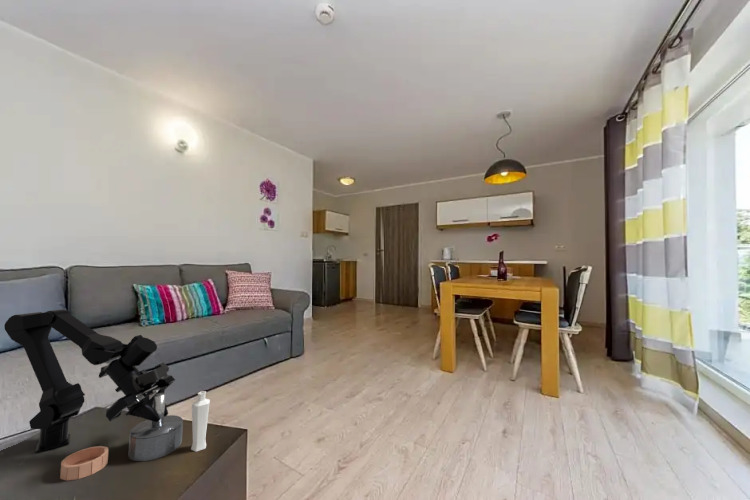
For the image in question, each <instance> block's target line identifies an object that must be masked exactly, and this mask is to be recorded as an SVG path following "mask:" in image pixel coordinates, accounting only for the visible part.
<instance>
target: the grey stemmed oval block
mask: <svg viewBox="0 0 750 500" xmlns="http://www.w3.org/2000/svg"><path fill="white" fill-rule="evenodd" d="M165 404H166V393H165V392H164V393H158V394H155V395H154V396H153V409H154V410H155V411H156V413H157V414H158V416H159V417H160V420H159V421H158V422H154V421H151V420H148V419H145V420H144V421H141V422H139V423H137V424H136V425H134V426H132V428H131V429H130V431H129V440H128V454H127V456H128V459H130V460H131V461H135V462H146V461H152V460H156V459H159V458H162V457H165V456H167V455H170V454H171V453H173V452H174V451H176V450H177V449H179V447H180V446H181V444H182V442H183V429H184V421H183V419H184V418H182V417H181V416H179V415H176V414H175V415H173V414H172V415H171V414H170V415H169V414H168V415H167V416H166V417H164V409H165Z"/></svg>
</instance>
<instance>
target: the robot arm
mask: <svg viewBox="0 0 750 500" xmlns="http://www.w3.org/2000/svg"><path fill="white" fill-rule="evenodd" d="M52 328H53V330H55V331H57V333H60V334H61V335H62V336H64V337H65V338H66V339H68V340H69V341H70V342H72V343H74V344H75V345H76V346H78V347H79V349H80V350H81V355H82V356H83V357H84V359H85V360H86V361H88V363H89V364H91V365H93V366H99V365H102V364H103V365H104V364H105V363H109V362H110V363H109V364H108V365H107V364H106V365H104V366H102V367H100V372H99V373H98V378H99V379H101V378H104V377H106V376H108V377H109V378H110V379H111V381H113V383H114V384H115V385H116V387H117V388H116V389H115V392H116V393H119V392H122V393H123V395H124V396H122V397H119V398H118V399H117V400H115V402H114V403H113V404H112V405H111V406H109V407H108V409H106V411H105V417H106V419H108V421H109V422H112V421H114V420H115V419H116V420H117V419H118V418H119V417H121V415H122V412H123V410H125V409H126V408H127V412H126V413H125V416H132V417H136V418H141V419H145V420H151V421H154V422H158V421H159V420H160V417H159V416H158V414H157V413H156V411H155V410H154V409H153V396H154V395H155V394H158V393H165V391H166V390H167V389H168V388H169V387H170V386H171V385H172V384H173V383H174V382H175V381H176V379H175V378H174V376H172V375H170V374H169V375H168V372H169V371H170V367H169V366H168V365H167V364H166V363H165V362H161V363H158V364H156V365H154V369H153V370H151V371H147V370H145V369H143V370H140V369H139V368H137V367H138V366H141V365H142V364H143V363H145V362H146V360H148V358H150V357H151V356H152V355H153V354H154V353H155V352H156V351H157V349H158V345H157V343H156V342H155V341H154V340H152V339H150V338H148V337H144V336H143V335H141V334H138V335H134V336H133V337H132V338H131V340H130V341H129V342H128V343H123V342H122V341H121V340H119V339H116V338H115V337H112V336H108V335H103V334H100V333H99V332H96V331H95V330H94V329H92V328H91V327H89V326H87V325H86V324H85V323H84V322H82V321H81V320H79V319H78V318H76V317H75V316H73V315H72V314H71V312H70V311H69V310H67V309H64V308H63V309H61V308H60V309H54V310H53V309H52V310H47V311H45V312H42V311H37V312H28V313H27V312H26V313H20V314H14V315H11V316H10V317H9V318H7V320H6V321H5V323H4V331H5V332H6V333H7V335H8V337H9V338H10V340H12V341H14V342H15V343H17V344H18V345H21V346H22V347H23V348H24V351H25V353H26V356H27V358H28V361H29V363H30V365H31V367H32V370H33V371H34V375H35V376H36V378H37V381H38V384H39V386H40V388H41V391H42V393H41V396H40V400H39V402H38V407H39V412H38V413H37V414H36V415H34V416H33V417H32V418H31V419H30V420H29V422H28V423H29V427H30V430H39V440H38V442H36V443H37V444H36V447H35V450H34V451H35V452H34V453H35V454H37V453H42V452H46V451H48V450H53V449H57V448H60V447H64V446H68V445H69V444H70V442H71V440H70V439H71V433H69V430H70V429H69V428H70V420H71V418H73V417H75V416H78V415H79V413H80V411H81V409H82V407H83V405H84V403H85V395H86V394H85V392H84V391H83V390H82V385H81V384H80V383H79V382H77V383H74V384H73V383H70V382H69V381H68V380H67V379H66V377H65V374H64V371H63V370H62V367H61V364H60V362H59V359H58V357H57V354H56V353H55V351H54V349H53V346H52V343H51V342H50V339H49V336H50V334H51V331H52ZM167 415H169V410H168V407H167V404H166V403H165V409H164V417H166V416H167Z"/></svg>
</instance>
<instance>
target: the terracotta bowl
mask: <svg viewBox="0 0 750 500" xmlns="http://www.w3.org/2000/svg"><path fill="white" fill-rule="evenodd" d="M108 460H109V447H108V446H103V445H99V446H98V445H97V446H90V447H87V448H84V449H80V450H77V451H75V452H73V453H71V454H69V455H67V456H65V458H64V459H63V460H61V462H60V472H59V473H60V474H59V475H60V476H59V479H60V480H63V481H74V480H81V479H82V478H85V477H89V476H92V475H93V474H95V473H98V472H99V471H101V470H103V469H104V468H105V466H107V465H108V463H109V461H108Z"/></svg>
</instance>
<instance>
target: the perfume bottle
mask: <svg viewBox="0 0 750 500" xmlns="http://www.w3.org/2000/svg"><path fill="white" fill-rule="evenodd" d="M206 394H207V391H203V390H202V391H201V390H200V392H197V400H196V401H194V402H192V404H191V419H192V420H191V421H192V422H191V424H192V425H191V427H192V428H191V429H192V444H191V447H190V450H191V451H193V452H199V451H201V450H202V451H203V450H205V449H206V448H207V442H206V438H207V437H206V435H207V429H208V428H207V427H208V420H209V411H210V410H209V409H210V404H211V403H210V401H211V399H209V398H206Z"/></svg>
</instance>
